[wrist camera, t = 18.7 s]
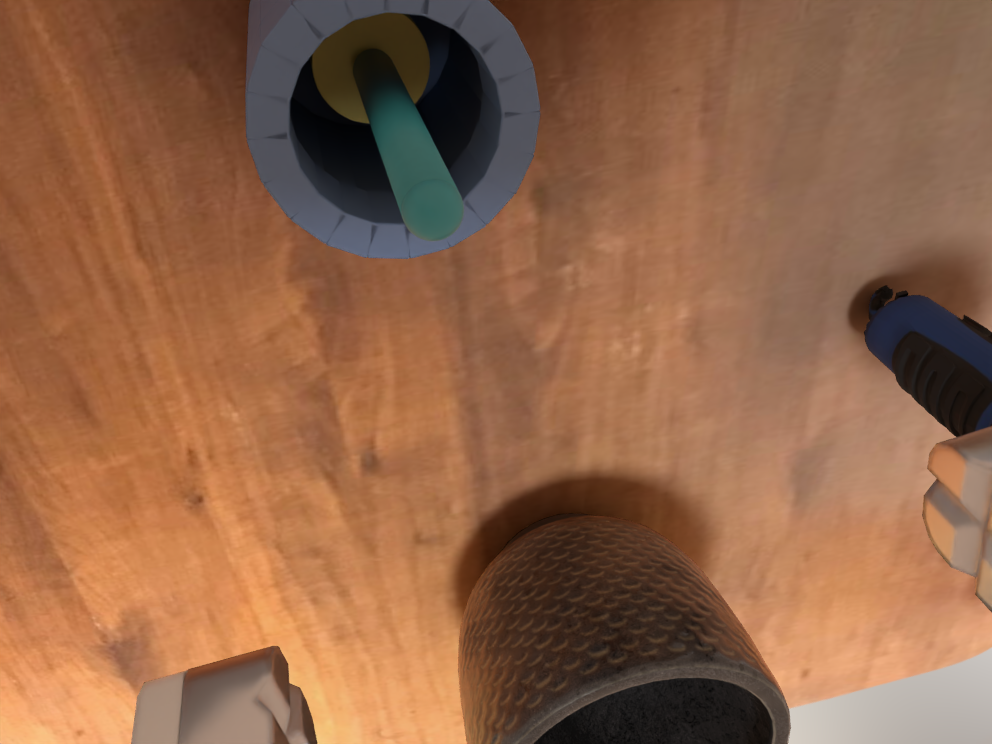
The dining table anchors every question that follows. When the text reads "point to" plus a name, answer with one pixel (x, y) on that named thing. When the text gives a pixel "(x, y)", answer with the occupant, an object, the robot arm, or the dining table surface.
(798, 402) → the dining table surface
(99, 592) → the dining table surface
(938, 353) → the flashlight
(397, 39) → the brush
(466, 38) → the jar
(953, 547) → the robot arm
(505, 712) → the planter
